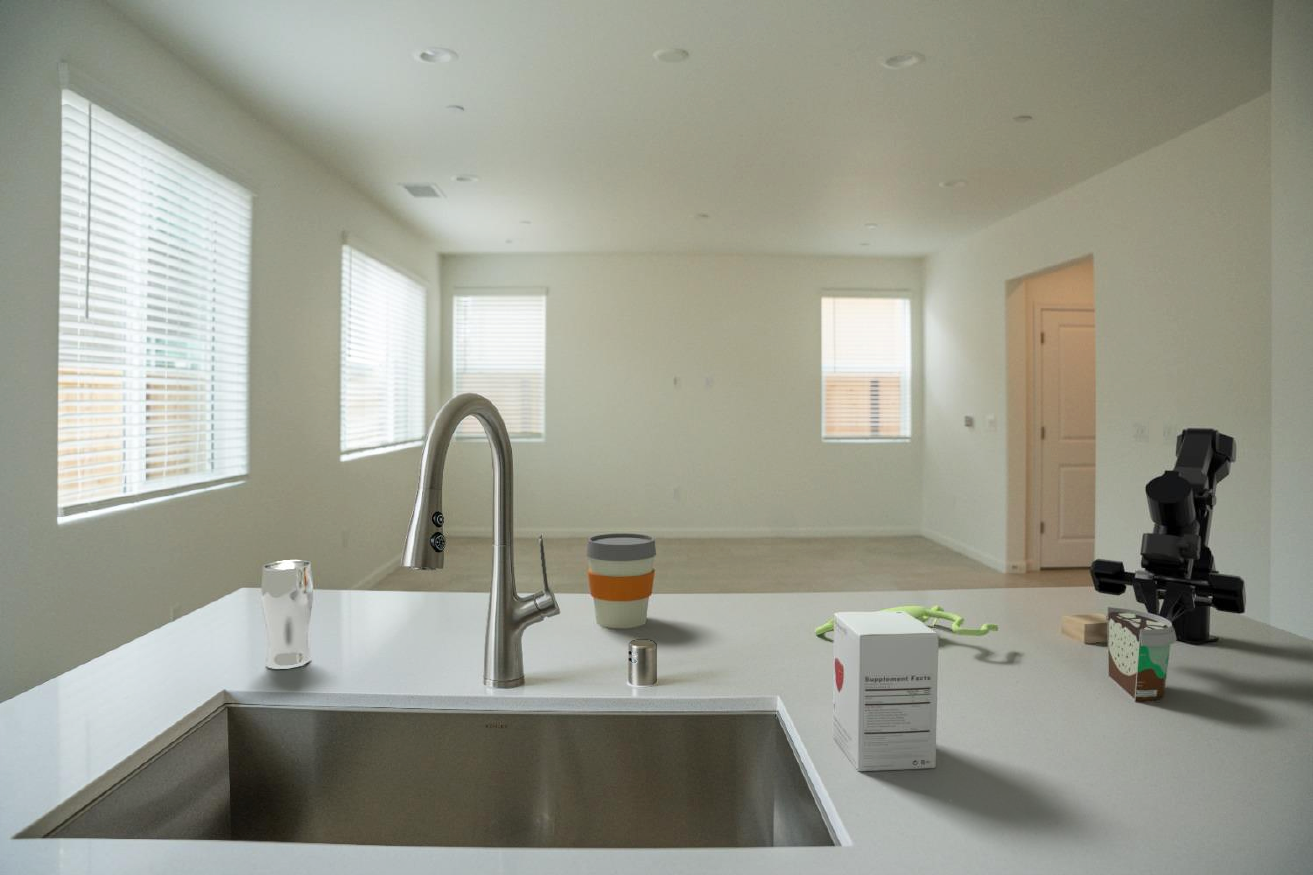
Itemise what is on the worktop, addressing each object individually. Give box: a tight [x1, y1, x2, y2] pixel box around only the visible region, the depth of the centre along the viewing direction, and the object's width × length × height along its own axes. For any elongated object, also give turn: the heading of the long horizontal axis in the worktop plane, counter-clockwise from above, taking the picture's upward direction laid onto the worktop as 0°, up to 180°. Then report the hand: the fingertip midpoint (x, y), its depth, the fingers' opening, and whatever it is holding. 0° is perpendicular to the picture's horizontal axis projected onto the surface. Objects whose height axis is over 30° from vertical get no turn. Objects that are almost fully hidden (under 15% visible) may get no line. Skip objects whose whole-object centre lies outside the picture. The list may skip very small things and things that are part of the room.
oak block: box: [1060, 612, 1108, 644], centre depth 129 cm, size 8×5×4 cm, turn 104°
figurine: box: [814, 605, 999, 637], centre depth 126 cm, size 18×27×6 cm
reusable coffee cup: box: [586, 532, 657, 629], centre depth 137 cm, size 13×13×15 cm
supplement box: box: [832, 611, 939, 772], centre depth 85 cm, size 9×9×15 cm
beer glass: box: [260, 559, 314, 666], centre depth 114 cm, size 7×7×15 cm
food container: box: [1105, 606, 1178, 703], centre depth 104 cm, size 12×6×10 cm, turn 168°
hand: (1155, 633), depth 108 cm, fingers closed
